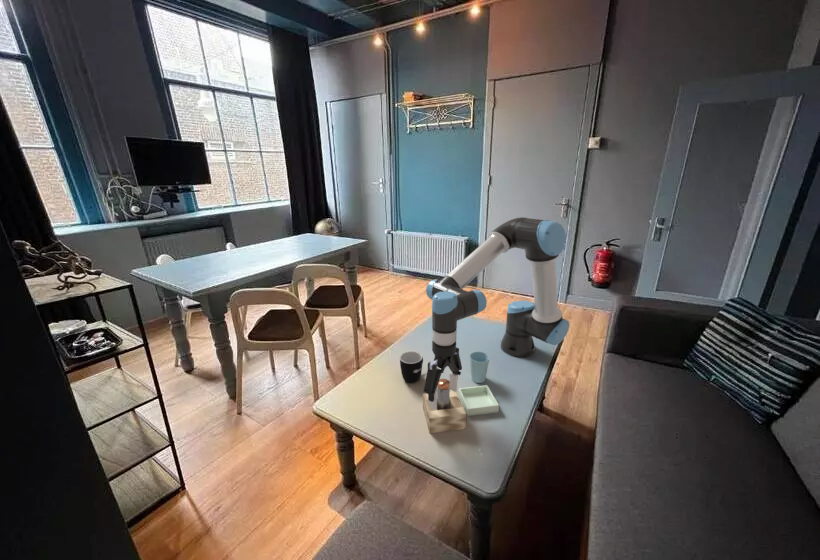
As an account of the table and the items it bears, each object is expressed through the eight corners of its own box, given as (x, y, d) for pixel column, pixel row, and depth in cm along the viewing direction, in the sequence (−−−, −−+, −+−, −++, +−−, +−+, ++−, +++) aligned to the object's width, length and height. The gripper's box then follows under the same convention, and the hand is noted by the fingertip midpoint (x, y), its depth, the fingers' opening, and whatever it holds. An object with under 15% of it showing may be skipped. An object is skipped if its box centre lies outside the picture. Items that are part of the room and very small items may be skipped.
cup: (467, 373, 135) (468, 351, 132) (485, 373, 135) (487, 351, 132) (470, 385, 128) (471, 362, 125) (489, 384, 128) (491, 361, 125)
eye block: (455, 404, 118) (455, 390, 116) (465, 428, 107) (465, 413, 105) (422, 407, 117) (422, 393, 115) (429, 433, 105) (429, 418, 103)
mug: (413, 388, 127) (413, 366, 124) (396, 380, 132) (395, 358, 129) (431, 373, 136) (431, 352, 133) (414, 366, 141) (413, 345, 138)
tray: (486, 391, 124) (487, 385, 123) (498, 412, 114) (498, 405, 113) (458, 395, 123) (458, 388, 122) (467, 416, 112) (467, 408, 111)
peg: (447, 413, 114) (448, 378, 109) (450, 421, 110) (451, 385, 105) (436, 414, 113) (436, 379, 109) (438, 422, 110) (439, 386, 105)
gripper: (455, 324, 112) (453, 378, 120) (410, 351, 96) (412, 412, 103) (474, 330, 108) (471, 386, 115) (430, 360, 91) (430, 423, 99)
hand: (443, 398), depth 109 cm, fingers open, 11 cm apart
